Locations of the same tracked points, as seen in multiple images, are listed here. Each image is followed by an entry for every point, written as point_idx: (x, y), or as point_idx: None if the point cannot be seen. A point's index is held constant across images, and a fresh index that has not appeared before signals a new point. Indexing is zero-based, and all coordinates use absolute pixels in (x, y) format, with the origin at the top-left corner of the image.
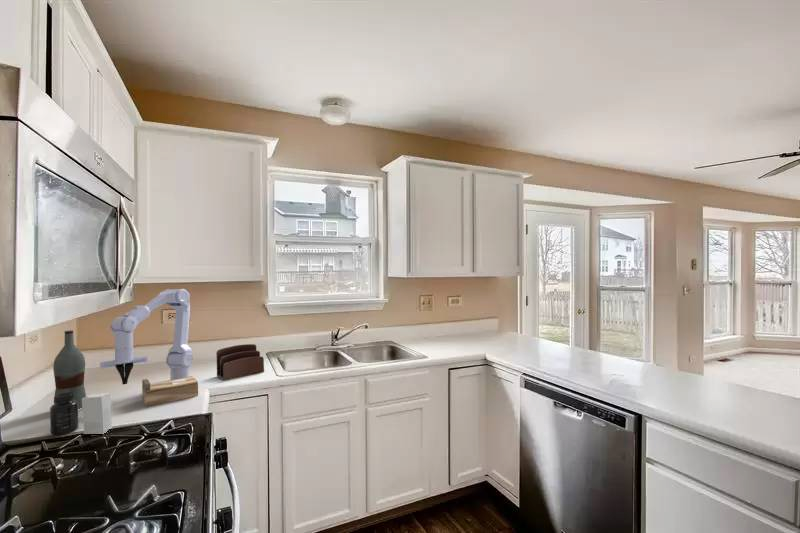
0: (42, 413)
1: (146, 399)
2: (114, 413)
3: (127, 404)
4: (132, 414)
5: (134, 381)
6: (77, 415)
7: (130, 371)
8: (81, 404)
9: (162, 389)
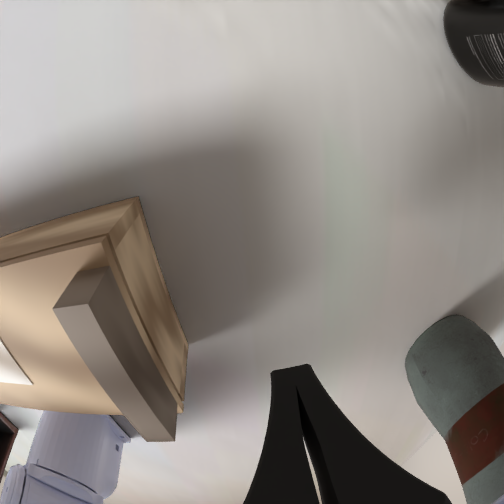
0: None
1: (120, 213)
2: (313, 166)
3: (254, 311)
4: (204, 64)
5: None
6: (487, 7)
7: (249, 495)
8: (427, 348)
9: (13, 259)
